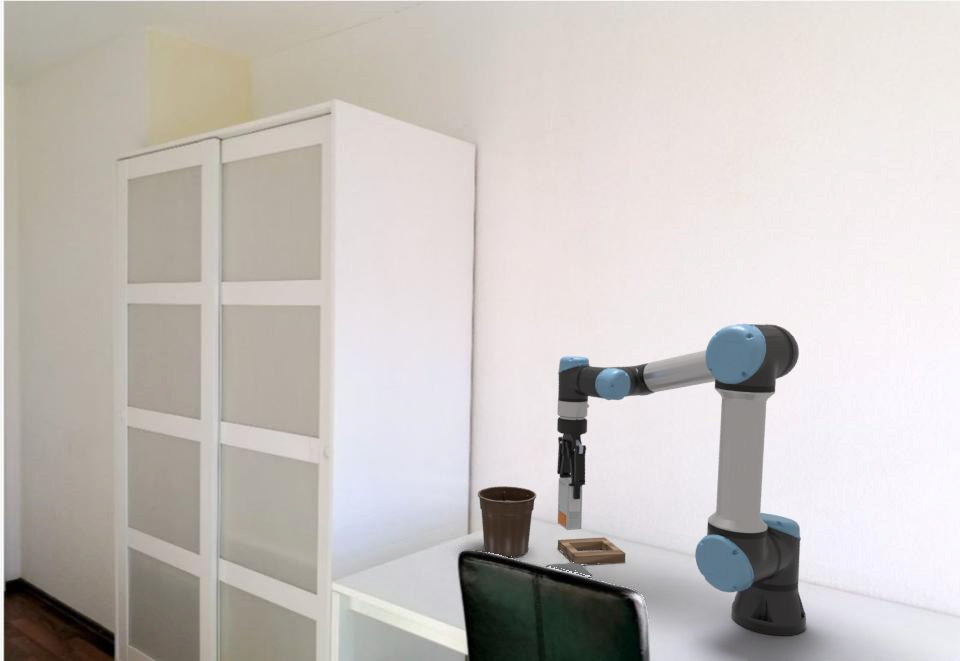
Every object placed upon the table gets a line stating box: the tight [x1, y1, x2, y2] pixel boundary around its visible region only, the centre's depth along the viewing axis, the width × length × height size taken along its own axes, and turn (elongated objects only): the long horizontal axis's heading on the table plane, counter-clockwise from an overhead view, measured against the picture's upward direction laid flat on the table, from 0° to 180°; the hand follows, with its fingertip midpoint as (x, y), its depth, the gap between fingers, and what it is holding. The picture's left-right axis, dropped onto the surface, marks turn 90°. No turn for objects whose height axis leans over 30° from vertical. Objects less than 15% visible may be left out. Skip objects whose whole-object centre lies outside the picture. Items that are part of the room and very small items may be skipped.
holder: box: [557, 536, 626, 565], centre depth 202 cm, size 14×14×2 cm
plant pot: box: [477, 485, 538, 559], centre depth 204 cm, size 16×16×16 cm
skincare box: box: [557, 477, 583, 531], centre depth 189 cm, size 6×4×12 cm
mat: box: [545, 562, 593, 577], centre depth 189 cm, size 9×9×1 cm
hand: (569, 507), depth 189 cm, fingers closed on skincare box, 6 cm apart
